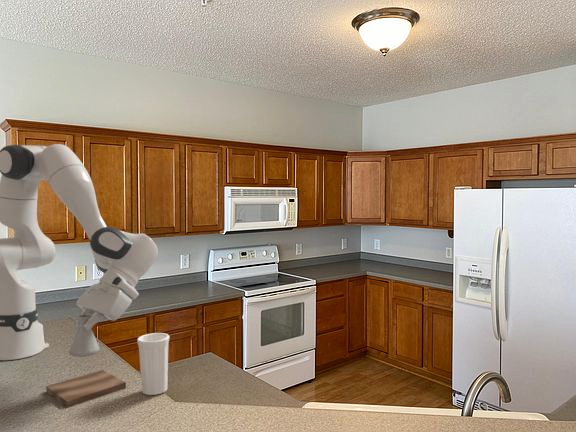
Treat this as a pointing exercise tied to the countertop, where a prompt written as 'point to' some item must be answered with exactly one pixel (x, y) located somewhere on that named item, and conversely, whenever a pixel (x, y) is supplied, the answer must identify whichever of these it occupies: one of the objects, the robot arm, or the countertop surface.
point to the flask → (84, 340)
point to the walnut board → (85, 388)
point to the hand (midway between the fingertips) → (81, 327)
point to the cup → (154, 362)
